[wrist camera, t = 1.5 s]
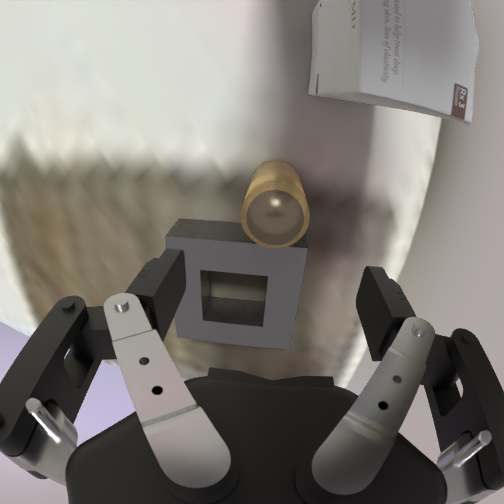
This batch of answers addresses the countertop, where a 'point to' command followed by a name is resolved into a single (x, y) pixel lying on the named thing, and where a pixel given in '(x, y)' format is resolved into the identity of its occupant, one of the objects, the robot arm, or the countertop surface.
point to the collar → (243, 262)
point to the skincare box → (396, 54)
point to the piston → (275, 206)
